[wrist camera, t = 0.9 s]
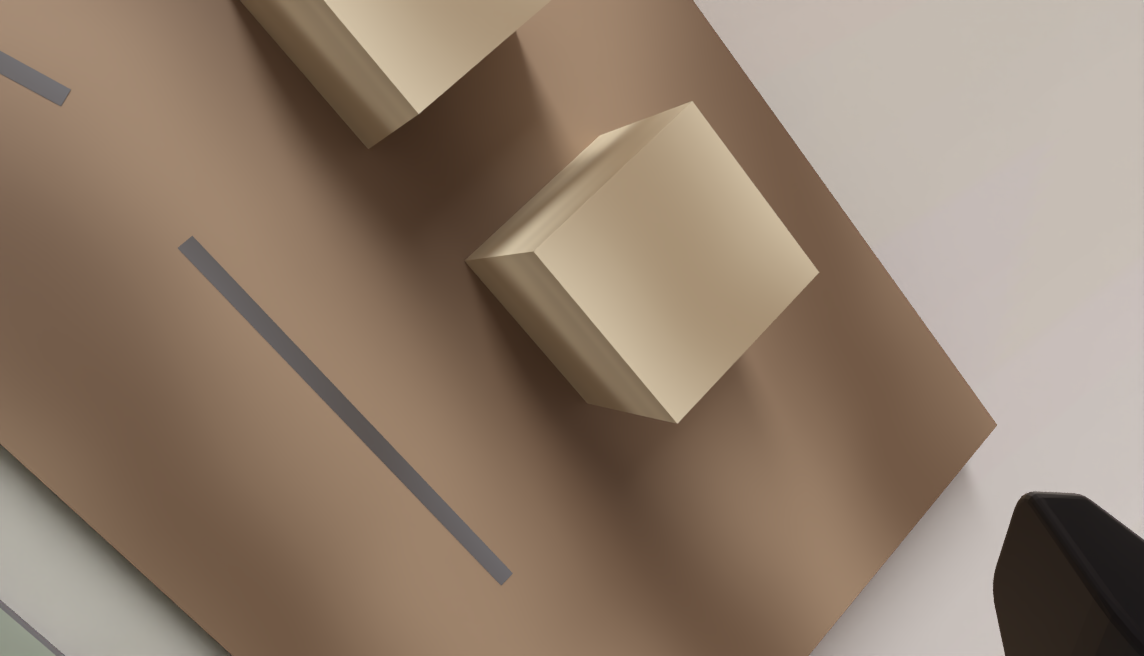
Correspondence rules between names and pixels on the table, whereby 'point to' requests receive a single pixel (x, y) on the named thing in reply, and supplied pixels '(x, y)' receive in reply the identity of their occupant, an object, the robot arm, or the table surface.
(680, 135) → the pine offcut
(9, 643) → the sanding block
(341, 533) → the walnut board
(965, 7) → the table surface
